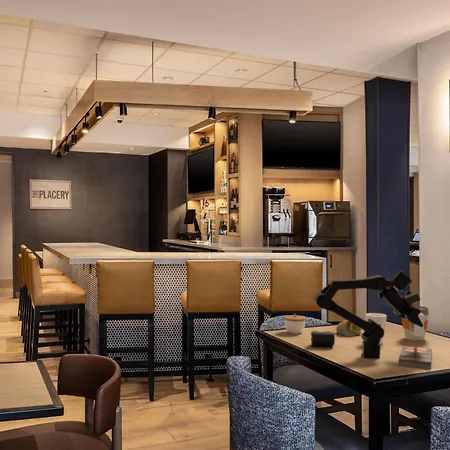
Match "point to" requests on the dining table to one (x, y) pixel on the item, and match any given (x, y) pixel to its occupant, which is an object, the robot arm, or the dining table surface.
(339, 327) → the pastry
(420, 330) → the grey upright block
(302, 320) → the lidded jar
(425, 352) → the post board
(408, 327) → the reusable coffee cup
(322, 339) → the end cap
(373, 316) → the foam cup
